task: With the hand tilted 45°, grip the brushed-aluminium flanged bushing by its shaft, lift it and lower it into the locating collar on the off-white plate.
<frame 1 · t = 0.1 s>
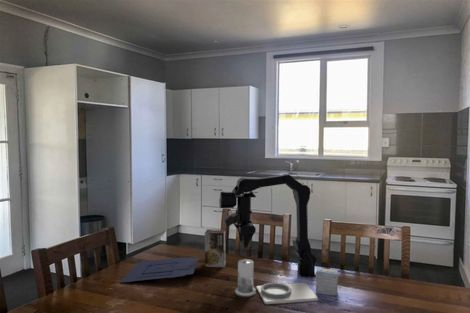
hand: (243, 244, 153), 15 cm above the table, fingers open, 9 cm apart
locating plate: (286, 294, 139), on the table
bushing: (245, 292, 140), on the table
medicine box: (326, 293, 140), on the table
papers: (162, 274, 159), on the table
coffee box: (215, 265, 170), on the table
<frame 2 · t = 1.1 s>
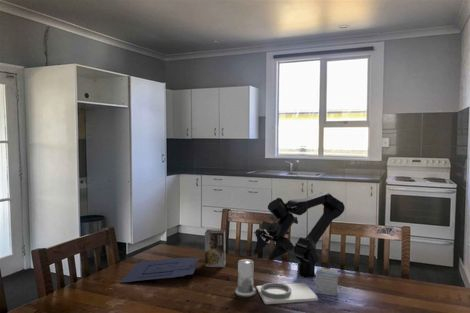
hand: (261, 256, 144), 12 cm above the table, fingers open, 9 cm apart
nothing on the table moved.
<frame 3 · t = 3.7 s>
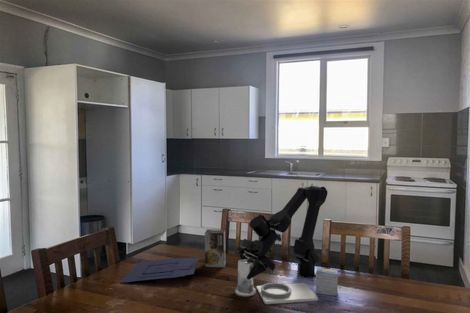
hand: (242, 276, 139), 7 cm above the table, fingers closed on bushing, 6 cm apart
bushing: (245, 292, 140), on the table, touching gripper
everything else where it was.
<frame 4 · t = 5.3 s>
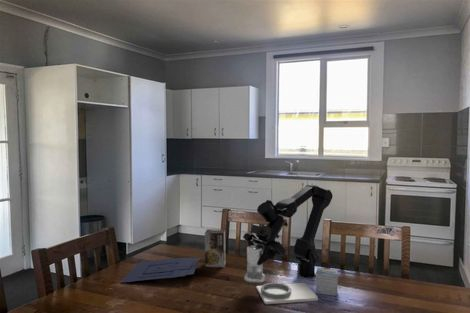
hand: (252, 262, 138), 12 cm above the table, fingers closed on bushing, 6 cm apart
bushing: (254, 278, 139), point 6 cm above the table, touching gripper
everything else where it was.
when the fingers open (8 cm above the table, at t = 7.3 s): bushing stays where it is, resting on locating plate.
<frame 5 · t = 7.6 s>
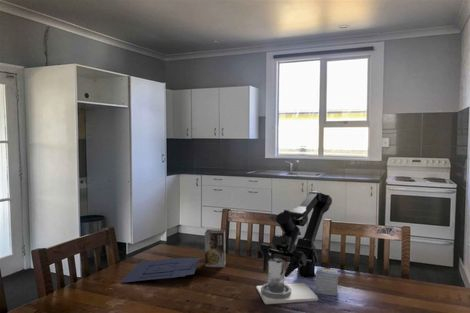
hand: (274, 273, 136), 9 cm above the table, fingers open, 9 cm apart
bushing: (276, 292, 138), point 1 cm above the table, touching locating plate
everything else where it was.
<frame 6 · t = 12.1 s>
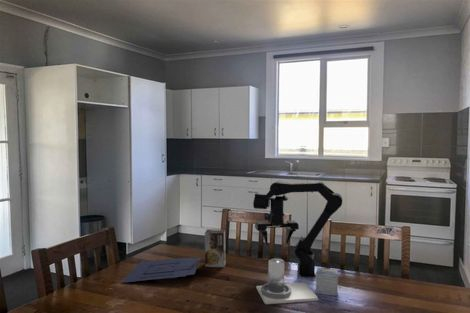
hand: (276, 244, 162), 12 cm above the table, fingers open, 9 cm apart
nothing on the table moved.
at the end: bushing 0.1 cm from the target spot on the locating plate, point 1.0 cm above the locating plate's base; bushing tilted 0°; the gripper is holding nothing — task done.
